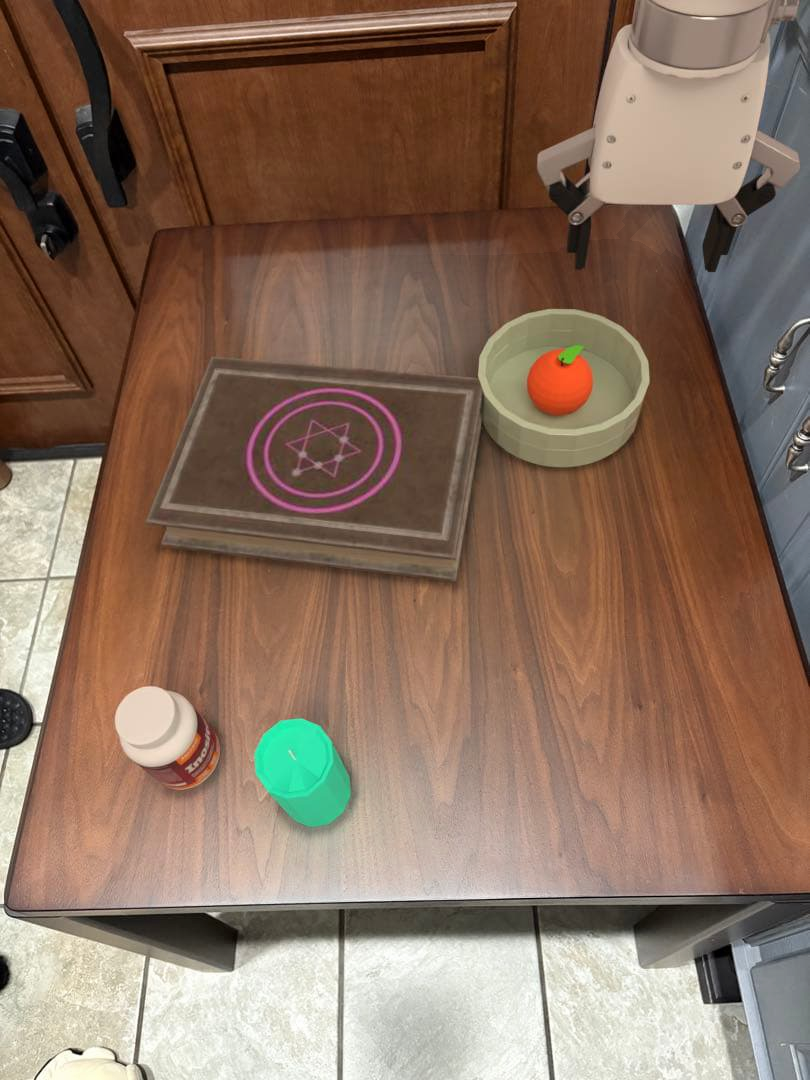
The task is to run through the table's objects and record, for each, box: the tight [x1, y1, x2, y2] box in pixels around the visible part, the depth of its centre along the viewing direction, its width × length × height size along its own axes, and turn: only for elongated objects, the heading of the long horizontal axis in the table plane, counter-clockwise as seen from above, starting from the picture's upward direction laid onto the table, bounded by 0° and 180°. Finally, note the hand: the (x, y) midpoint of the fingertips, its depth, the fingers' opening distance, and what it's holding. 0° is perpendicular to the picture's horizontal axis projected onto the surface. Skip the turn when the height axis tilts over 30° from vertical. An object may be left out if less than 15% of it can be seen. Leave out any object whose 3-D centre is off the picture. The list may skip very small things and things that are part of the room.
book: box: [145, 356, 483, 583], centre depth 83 cm, size 30×22×5 cm
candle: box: [253, 717, 352, 828], centre depth 63 cm, size 6×6×12 cm
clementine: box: [527, 345, 593, 416], centre depth 84 cm, size 8×7×7 cm
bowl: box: [477, 308, 651, 468], centre depth 85 cm, size 18×18×6 cm
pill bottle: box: [114, 685, 221, 791], centre depth 65 cm, size 6×6×11 cm
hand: (643, 258), depth 61 cm, fingers open, 9 cm apart
